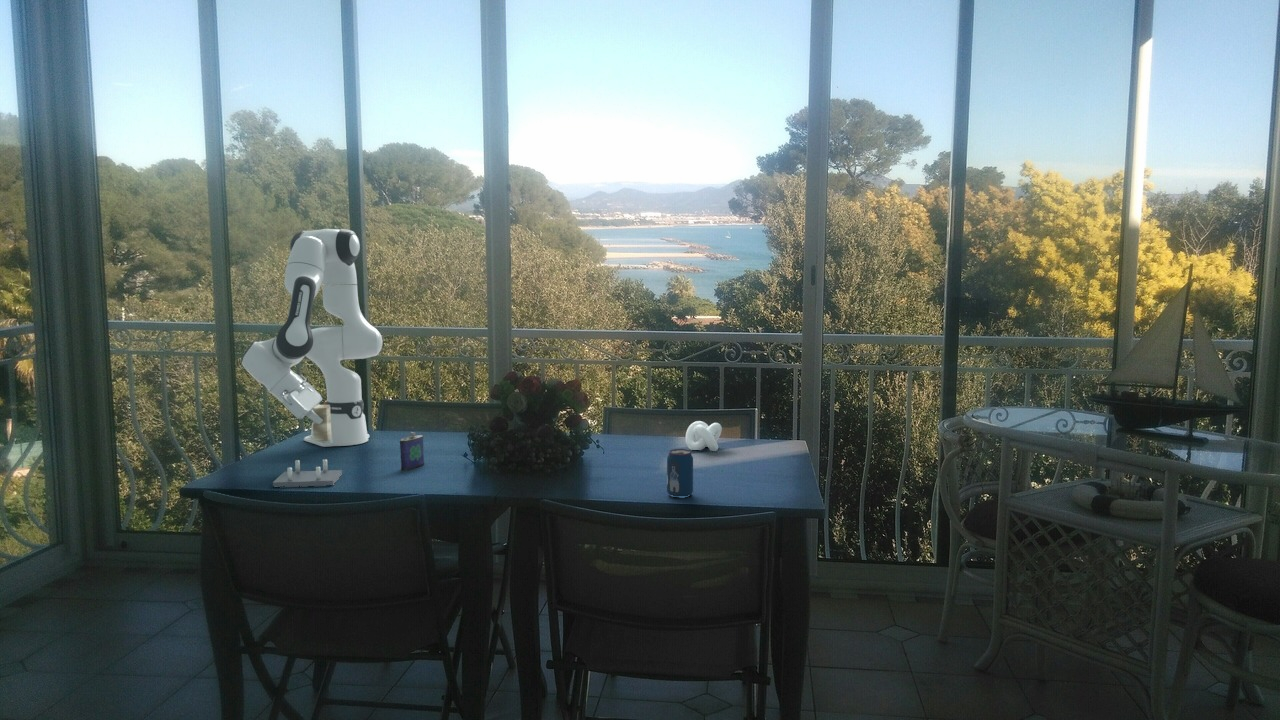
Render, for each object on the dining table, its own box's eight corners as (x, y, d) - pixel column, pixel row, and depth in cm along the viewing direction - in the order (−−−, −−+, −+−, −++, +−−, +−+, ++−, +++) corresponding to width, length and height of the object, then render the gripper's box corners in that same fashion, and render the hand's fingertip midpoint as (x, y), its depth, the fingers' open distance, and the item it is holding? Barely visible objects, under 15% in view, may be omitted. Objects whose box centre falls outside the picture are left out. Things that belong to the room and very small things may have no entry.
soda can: (691, 491, 249) (692, 448, 248) (694, 499, 242) (694, 454, 241) (666, 492, 249) (666, 448, 248) (667, 499, 242) (667, 454, 241)
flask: (419, 463, 282) (418, 428, 280) (427, 464, 280) (426, 429, 279) (398, 469, 273) (397, 434, 272) (406, 471, 272) (405, 435, 271)
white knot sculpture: (680, 452, 296) (680, 425, 295) (690, 444, 307) (690, 418, 306) (715, 455, 293) (715, 427, 291) (723, 447, 304) (723, 420, 303)
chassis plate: (273, 487, 253) (272, 469, 253) (284, 476, 265) (283, 459, 265) (333, 485, 255) (332, 468, 255) (341, 475, 267) (341, 458, 266)
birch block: (313, 441, 273) (312, 408, 272) (317, 437, 278) (316, 404, 277) (327, 441, 274) (326, 408, 272) (331, 437, 279) (330, 404, 277)
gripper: (286, 386, 262) (323, 420, 265) (304, 374, 282) (338, 405, 285) (271, 402, 262) (308, 435, 265) (289, 389, 282) (324, 419, 285)
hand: (324, 419), depth 275 cm, fingers closed on birch block, 5 cm apart
